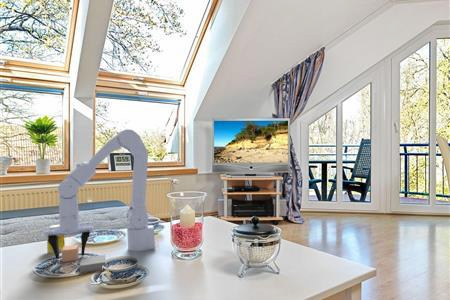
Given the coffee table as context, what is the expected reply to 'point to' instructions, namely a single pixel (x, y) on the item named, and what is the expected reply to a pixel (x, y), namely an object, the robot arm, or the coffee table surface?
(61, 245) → the supplement bottle
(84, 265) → the gray slab
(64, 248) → the terracotta block
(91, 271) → the walnut slab
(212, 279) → the coffee table surface
